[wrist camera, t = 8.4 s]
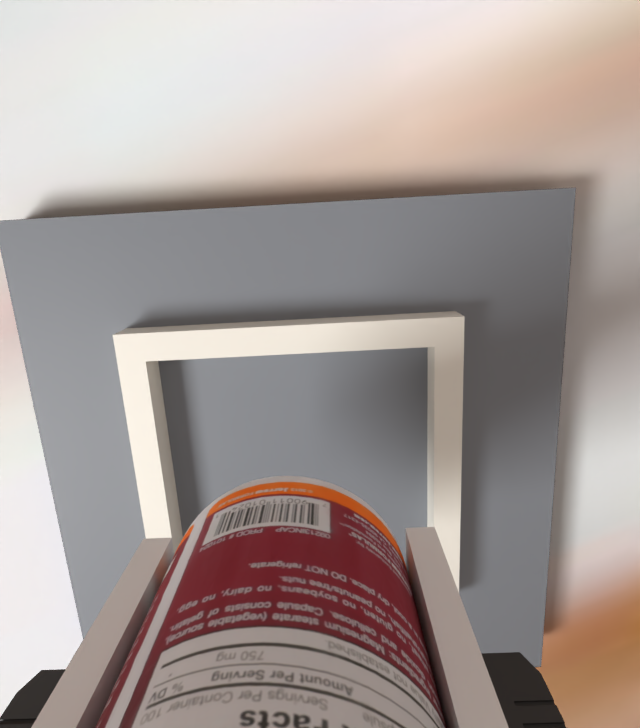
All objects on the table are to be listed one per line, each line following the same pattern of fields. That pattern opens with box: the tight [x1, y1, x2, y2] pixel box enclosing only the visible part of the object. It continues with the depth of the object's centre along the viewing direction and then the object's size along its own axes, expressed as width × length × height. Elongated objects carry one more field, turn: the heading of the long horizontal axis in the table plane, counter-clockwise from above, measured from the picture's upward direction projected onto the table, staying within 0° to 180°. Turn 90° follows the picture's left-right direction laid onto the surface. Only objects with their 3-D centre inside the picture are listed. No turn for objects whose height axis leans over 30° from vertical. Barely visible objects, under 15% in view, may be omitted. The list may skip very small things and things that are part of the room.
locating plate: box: [0, 188, 576, 667], centre depth 20 cm, size 20×20×3 cm
